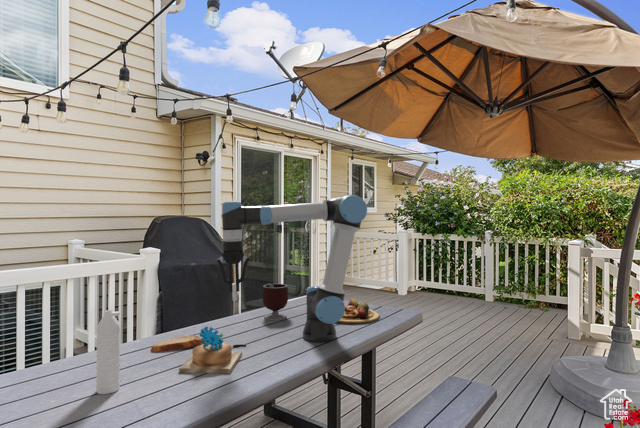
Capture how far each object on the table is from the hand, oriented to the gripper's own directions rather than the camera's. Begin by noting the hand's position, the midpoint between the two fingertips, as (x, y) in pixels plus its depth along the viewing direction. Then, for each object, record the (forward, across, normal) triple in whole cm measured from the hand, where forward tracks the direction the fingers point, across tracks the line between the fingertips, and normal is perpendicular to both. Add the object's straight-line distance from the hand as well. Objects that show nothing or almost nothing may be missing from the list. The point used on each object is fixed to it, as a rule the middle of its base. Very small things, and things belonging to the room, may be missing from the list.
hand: (234, 300), depth 157 cm
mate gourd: (+22, +23, +53) cm, 62 cm away
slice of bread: (+21, -23, +16) cm, 35 cm away
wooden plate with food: (+24, +63, +44) cm, 80 cm away
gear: (+16, -9, -7) cm, 20 cm away
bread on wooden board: (+21, -9, -8) cm, 24 cm away
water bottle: (+20, -40, -24) cm, 51 cm away
